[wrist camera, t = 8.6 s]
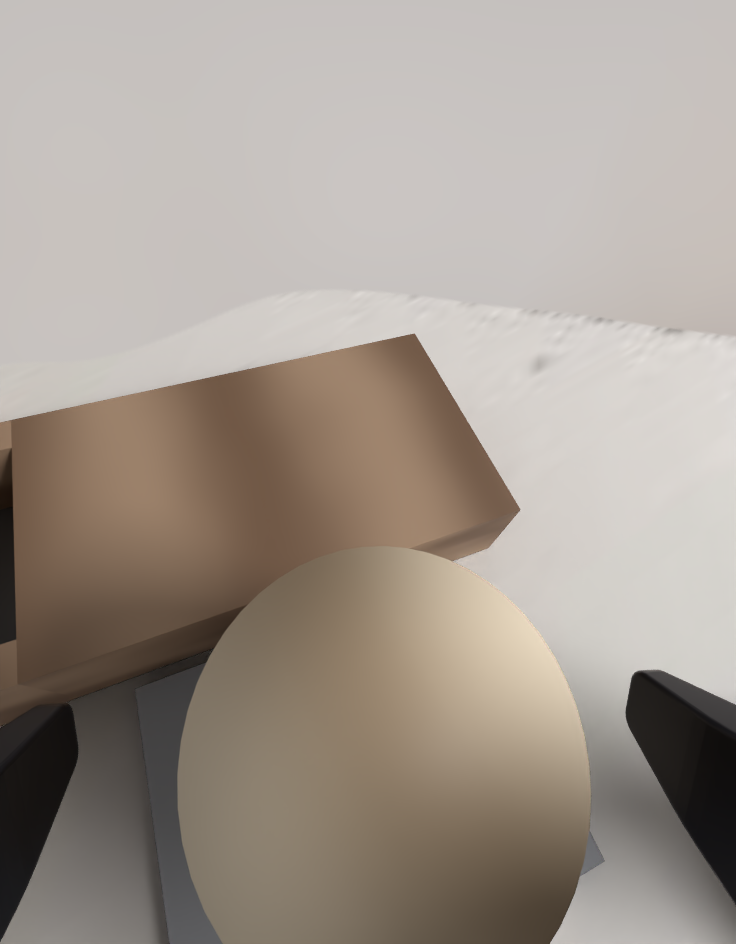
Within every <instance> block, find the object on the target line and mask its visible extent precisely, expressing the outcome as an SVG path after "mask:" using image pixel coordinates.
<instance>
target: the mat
mask: <svg viewBox="0 0 736 944" xmlns="http://www.w3.org/2000/svg"><path fill="white" fill-rule="evenodd" d="M206 663H207V662H206ZM206 663H203V664H201V665H198V666H195V667H193V668H190V669H187V670H184V671H182V672H179V673H176V674H174V675H171V676H168V677H166V678H163V679H160V680H158V681H155V682H152V683H149V684H147V685H144V686H141V687H139V688H136V689H135V693H136V701H137V708H138V715H139V723H140V730H141V738H142V745H143V752H144V760H145V767H146V775H147V782H148V789H149V797H150V804H151V812H152V819H153V826H154V834H155V841H156V849H157V856H158V863H159V871H160V878H161V886H162V893H163V900H164V908H165V915H166V922H167V930H168V937H169V944H223V943H222V942H221V940H220V938H219V936H218V935H217V933H216V931H215V929H214V928H213V926H212V924H211V922H210V920H209V919H208V917H207V915H206V913H205V912H204V909H203V907H202V904H201V902H200V899H199V897H198V894H197V891H196V889H195V886H194V884H193V881H192V879H191V876H190V872H189V868H188V864H187V860H186V856H185V852H184V848H183V844H182V838H181V830H180V822H179V814H178V787H177V773H178V763H179V754H180V744H181V738H182V734H183V729H184V725H185V720H186V716H187V711H188V708H189V705H190V702H191V699H192V696H193V693H194V691H195V688H196V685H197V682H198V680H199V677H200V675H201V673H202V671H203V669H204V667H205V665H206ZM602 862H604V859H603V857H602V855H601V853H600V851H599V849H598V847H597V845H596V843H595V841H594V839H593V837H592V835H591V833H590V831H589V835H588V841H587V847H586V853H585V859H584V863H583V867H582V870H581V874H580V876H581V875H583V874H585V873H586V872H588V871H589V870H591V869H593V868H594V867H596V866H598V865H599V864H601V863H602Z"/></svg>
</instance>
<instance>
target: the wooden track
mask: <svg viewBox="0 0 736 944" xmlns="http://www.w3.org/2000/svg"><path fill="white" fill-rule="evenodd" d="M519 511H520V508H519V506H518V505H517V503H516V501H515V500H514V498H513V496H512V495H511V493H510V491H509V490H508V488H507V486H506V485H505V483H504V481H503V480H502V478H501V476H500V475H499V473H498V471H497V470H496V468H495V466H494V465H493V463H492V462H491V460H490V458H489V457H488V455H487V453H486V452H485V450H484V448H483V447H482V445H481V443H480V442H479V440H478V438H477V437H476V435H475V433H474V432H473V430H472V428H471V427H470V425H469V423H468V422H467V420H466V418H465V417H464V415H463V413H462V412H461V410H460V408H459V407H458V405H457V403H456V402H455V400H454V398H453V397H452V395H451V393H450V392H449V390H448V388H447V387H446V385H445V383H444V382H443V380H442V378H441V377H440V375H439V373H438V372H437V370H436V368H435V367H434V365H433V363H432V362H431V360H430V358H429V357H428V355H427V353H426V352H425V350H424V348H423V347H422V345H421V343H420V342H419V340H418V338H417V337H416V335H415V334H410V335H406V336H401V337H396V338H392V339H387V340H382V341H378V342H373V343H368V344H364V345H359V346H354V347H350V348H345V349H340V350H336V351H331V352H326V353H322V354H317V355H313V356H308V357H303V358H299V359H294V360H289V361H285V362H280V363H275V364H271V365H266V366H261V367H257V368H252V369H247V370H243V371H238V372H233V373H229V374H224V375H219V376H215V377H210V378H205V379H201V380H196V381H191V382H187V383H182V384H178V385H173V386H168V387H164V388H159V389H154V390H150V391H145V392H140V393H136V394H131V395H126V396H122V397H117V398H112V399H108V400H103V401H98V402H94V403H89V404H84V405H80V406H75V407H70V408H66V409H61V410H56V411H52V412H47V413H43V414H38V415H33V416H29V417H24V418H19V419H15V420H10V421H5V422H1V423H0V726H2V725H4V724H7V723H9V722H11V721H12V720H14V719H16V718H17V717H19V716H20V715H22V714H24V713H25V712H27V711H28V710H30V709H32V708H33V707H35V706H37V705H40V704H48V703H65V702H68V701H70V700H73V699H76V698H79V697H81V696H84V695H87V694H89V693H92V692H95V691H98V690H100V689H103V688H106V687H109V686H111V685H114V684H117V683H120V682H122V681H125V680H128V679H131V678H133V677H136V676H139V675H142V674H144V673H147V672H150V671H153V670H155V669H158V668H161V667H164V666H166V665H169V664H172V663H174V662H177V661H180V660H183V659H185V658H188V657H191V656H194V655H196V654H199V653H202V652H205V651H207V650H210V649H213V648H215V647H216V645H217V643H218V642H219V640H220V639H221V637H222V635H223V634H224V632H225V631H226V630H227V628H228V627H229V626H230V625H231V623H232V622H233V621H234V620H235V618H236V617H237V616H238V615H239V613H240V612H241V611H242V610H243V609H244V608H245V607H246V606H247V605H248V604H249V603H250V602H251V601H252V600H253V599H254V598H255V597H256V596H257V595H258V594H259V593H260V592H261V591H263V590H264V589H265V588H267V587H268V586H269V585H270V584H272V583H273V582H274V581H276V580H277V579H278V578H280V577H281V576H283V575H285V574H286V573H288V572H290V571H291V570H293V569H295V568H297V567H298V566H300V565H303V564H305V563H307V562H309V561H312V560H314V559H316V558H318V557H321V556H324V555H328V554H331V553H334V552H338V551H341V550H347V549H353V548H359V547H374V546H389V547H401V548H408V549H413V550H418V551H423V552H427V553H430V554H433V555H436V556H439V557H442V558H445V559H448V560H450V561H454V560H457V559H460V558H462V557H465V556H468V555H471V554H473V553H476V552H479V551H482V550H484V549H487V548H489V547H490V545H491V544H492V543H493V542H494V541H495V539H496V538H497V537H498V536H499V535H500V534H501V532H502V531H503V530H504V529H505V528H506V526H507V525H508V524H509V523H510V522H511V520H512V519H513V518H514V517H515V516H516V514H517V513H518V512H519Z"/></svg>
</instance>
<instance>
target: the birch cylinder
mask: <svg viewBox="0 0 736 944" xmlns="http://www.w3.org/2000/svg"><path fill="white" fill-rule="evenodd" d="M177 787H178V814H179V822H180V830H181V838H182V844H183V848H184V852H185V856H186V860H187V864H188V868H189V872H190V876H191V879H192V881H193V884H194V886H195V889H196V891H197V894H198V897H199V899H200V902H201V904H202V907H203V909H204V912H205V913H206V915H207V917H208V919H209V920H210V922H211V924H212V926H213V928H214V929H215V931H216V933H217V935H218V936H219V938H220V940H221V942H222V943H223V944H550V942H551V941H552V939H553V937H554V936H555V934H556V932H557V931H558V929H559V927H560V926H561V924H562V921H563V919H564V917H565V915H566V912H567V910H568V908H569V905H570V903H571V901H572V899H573V896H574V894H575V891H576V887H577V884H578V880H579V877H580V874H581V870H582V867H583V863H584V859H585V853H586V847H587V841H588V835H589V829H590V810H591V784H590V766H589V759H588V753H587V747H586V741H585V735H584V731H583V728H582V724H581V720H580V717H579V713H578V709H577V706H576V703H575V701H574V698H573V695H572V693H571V690H570V688H569V685H568V683H567V680H566V678H565V676H564V674H563V672H562V670H561V668H560V666H559V664H558V662H557V660H556V658H555V656H554V655H553V653H552V652H551V650H550V648H549V647H548V645H547V644H546V642H545V641H544V639H543V638H542V636H541V635H540V633H539V632H538V631H537V629H536V628H535V627H534V626H533V624H532V623H531V622H530V621H529V620H528V618H527V617H526V616H525V615H524V613H523V612H522V611H521V610H520V609H519V608H518V607H517V606H516V605H515V604H514V603H513V602H512V601H511V600H510V599H509V598H508V597H506V596H505V595H504V594H503V593H502V592H500V591H499V590H498V589H497V588H495V587H494V586H493V585H492V584H490V583H489V582H488V581H486V580H485V579H483V578H481V577H480V576H478V575H477V574H475V573H473V572H472V571H470V570H469V569H467V568H465V567H463V566H460V565H458V564H456V563H454V562H452V561H450V560H448V559H445V558H442V557H439V556H436V555H433V554H430V553H427V552H423V551H418V550H413V549H408V548H401V547H389V546H374V547H359V548H353V549H347V550H341V551H338V552H334V553H331V554H328V555H324V556H321V557H318V558H316V559H314V560H312V561H309V562H307V563H305V564H303V565H300V566H298V567H297V568H295V569H293V570H291V571H290V572H288V573H286V574H285V575H283V576H281V577H280V578H278V579H277V580H276V581H274V582H273V583H272V584H270V585H269V586H268V587H267V588H265V589H264V590H263V591H261V592H260V593H259V594H258V595H257V596H256V597H255V598H254V599H253V600H252V601H251V602H250V603H249V604H248V605H247V606H246V607H245V608H244V609H243V610H242V611H241V612H240V613H239V615H238V616H237V617H236V618H235V620H234V621H233V622H232V623H231V625H230V626H229V627H228V628H227V630H226V631H225V632H224V634H223V635H222V637H221V639H220V640H219V642H218V643H217V645H216V647H215V648H214V650H213V651H212V653H211V655H210V656H209V659H208V661H207V663H206V665H205V667H204V669H203V671H202V673H201V675H200V677H199V680H198V682H197V685H196V688H195V691H194V693H193V696H192V699H191V702H190V705H189V708H188V711H187V716H186V720H185V725H184V729H183V734H182V738H181V744H180V754H179V763H178V773H177Z"/></svg>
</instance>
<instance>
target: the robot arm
mask: <svg viewBox="0 0 736 944" xmlns="http://www.w3.org/2000/svg"><path fill="white" fill-rule="evenodd" d="M626 720H627V723H628V726H629V728H630V730H631V732H632V734H633V736H634V738H635V739H636V741H637V743H638V745H639V747H640V748H641V750H642V752H643V754H644V756H645V757H646V759H647V761H648V763H649V765H650V767H651V768H652V770H653V772H654V774H655V776H656V777H657V779H658V781H659V783H660V785H661V786H662V788H663V790H664V792H665V794H666V796H667V797H668V799H669V801H670V803H671V805H672V806H673V808H674V810H675V812H676V813H677V815H678V817H679V819H680V820H681V822H682V824H683V825H684V827H685V829H686V830H687V832H688V833H689V835H690V836H691V838H692V840H693V841H694V843H695V844H696V846H697V847H698V849H699V850H700V852H701V853H702V855H703V856H704V858H705V860H706V861H707V863H708V864H709V866H710V867H711V869H712V870H713V872H714V873H715V875H716V876H717V878H718V879H719V881H720V882H721V884H722V885H723V887H724V888H725V890H726V891H727V893H728V894H729V896H730V898H731V899H732V901H733V902H734V904H735V905H736V705H735V704H733V703H731V702H728V701H726V700H724V699H722V698H720V697H718V696H715V695H713V694H711V693H709V692H707V691H705V690H703V689H700V688H698V687H696V686H694V685H692V684H690V683H688V682H685V681H683V680H681V679H679V678H677V677H675V676H672V675H670V674H668V673H666V672H664V671H661V670H641V671H637V672H635V673H634V674H633V676H632V678H631V683H630V689H629V695H628V700H627V706H626ZM77 759H78V741H77V735H76V728H75V722H74V715H73V710H72V708H71V706H70V705H69V704H67V703H48V704H40V705H37V706H35V707H33V708H32V709H30V710H28V711H27V712H25V713H24V714H22V715H20V716H19V717H17V718H16V719H14V720H12V721H11V722H9V723H8V724H6V725H5V726H3V727H1V728H0V941H1V939H2V937H3V935H4V933H5V931H6V929H7V927H8V925H9V923H10V921H11V919H12V917H13V915H14V913H15V911H16V909H17V907H18V905H19V903H20V901H21V899H22V897H23V895H24V892H25V890H26V888H27V886H28V884H29V881H30V879H31V877H32V874H33V872H34V869H35V867H36V865H37V862H38V860H39V857H40V855H41V852H42V850H43V847H44V844H45V842H46V839H47V837H48V834H49V832H50V829H51V827H52V824H53V822H54V819H55V817H56V814H57V812H58V809H59V807H60V804H61V802H62V799H63V797H64V794H65V791H66V789H67V786H68V784H69V781H70V779H71V776H72V774H73V771H74V769H75V766H76V763H77Z"/></svg>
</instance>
